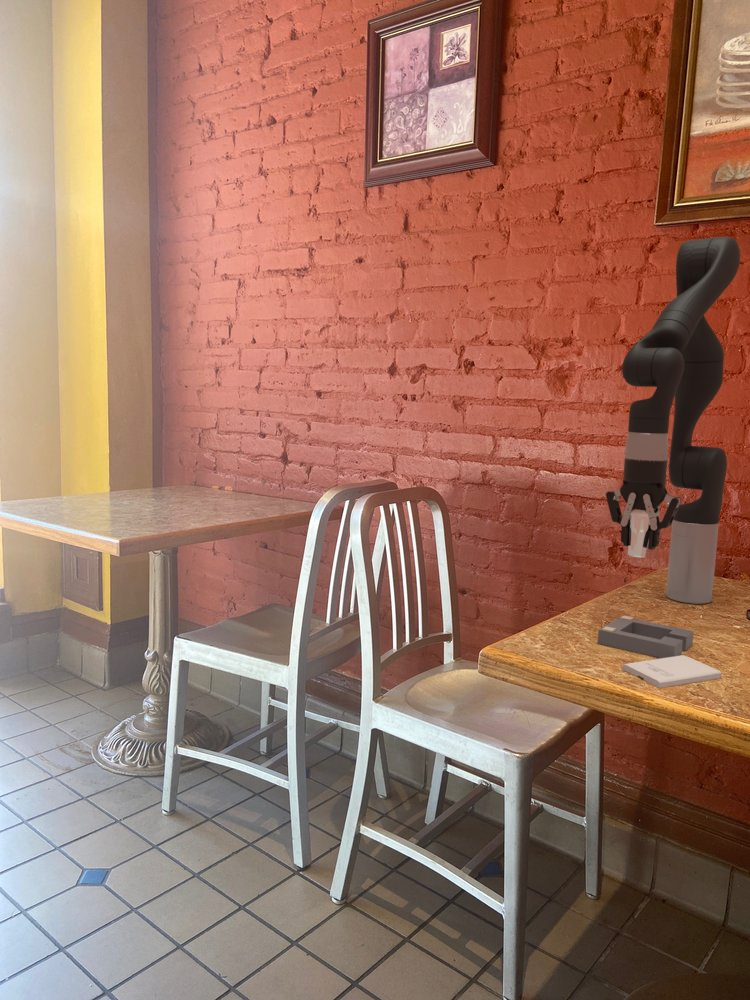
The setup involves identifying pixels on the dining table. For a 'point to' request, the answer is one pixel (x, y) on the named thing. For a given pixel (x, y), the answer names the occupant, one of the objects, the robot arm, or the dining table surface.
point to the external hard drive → (672, 671)
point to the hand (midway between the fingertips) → (639, 546)
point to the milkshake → (638, 533)
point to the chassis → (645, 637)
